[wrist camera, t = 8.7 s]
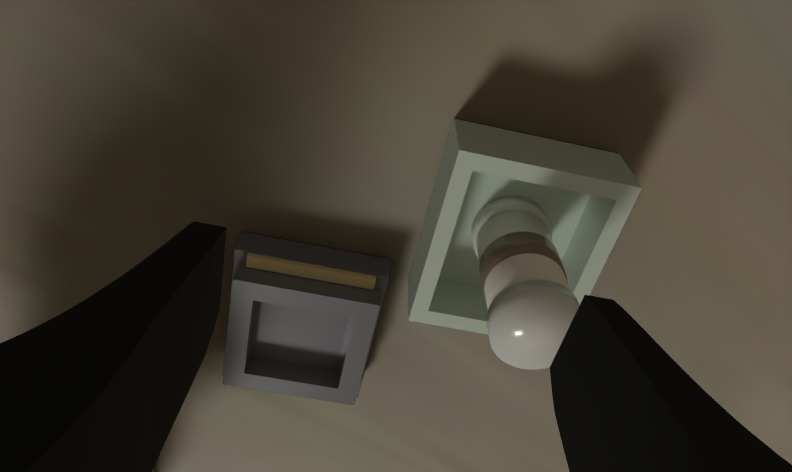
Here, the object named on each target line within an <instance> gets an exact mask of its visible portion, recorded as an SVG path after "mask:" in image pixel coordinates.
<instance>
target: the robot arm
mask: <svg viewBox="0 0 792 472" xmlns="http://www.w3.org/2000/svg"><path fill="white" fill-rule="evenodd" d="M225 238H226V227H221V226H216V225H210V224H205V223H200V222H193V223H191V224H189V225H188V226H187V227H185V228H184V229H183V230H181V231H180V232H179V233H178V234H176V235H175V236H174V237H173V238H172V239H170V240H169V241H168V242H166V243H165V244H164V245H163V246H161V247H160V248H159V249H157V250H156V251H155V252H154V253H152V254H151V255H150V256H148V257H147V258H146V259H144V260H143V261H142V262H140V263H139V264H137V265H136V266H135V267H133V268H132V269H130V270H129V271H128V272H126V273H125V274H124V275H122V276H121V277H119V278H118V279H116V280H115V281H113V282H112V283H110V284H109V285H107V286H106V287H104V288H103V289H101V290H99V291H98V292H96V293H95V294H93V295H92V296H90V297H89V298H87V299H85V300H84V301H82V302H81V303H79V304H77V305H76V306H74V307H72V308H71V309H69V310H67V311H65V312H64V313H62V314H60V315H58V316H56V317H55V318H53V319H51V320H49V321H47V322H45V323H43V324H41V325H39V326H37V327H35V328H33V329H31V330H29V331H27V332H25V333H23V334H21V335H19V336H16V337H14V338H12V339H9V340H7V341H5V342H3V343H0V472H154V466H155V464H156V461H157V459H158V457H159V454H160V452H161V449H162V447H163V445H164V443H165V441H166V439H167V436H168V434H169V432H170V430H171V428H172V426H173V424H174V421H175V419H176V417H177V415H178V413H179V411H180V408H181V406H182V404H183V402H184V400H185V398H186V396H187V393H188V391H189V389H190V387H191V385H192V382H193V380H194V378H195V376H196V374H197V372H198V369H199V367H200V365H201V363H202V361H203V358H204V356H205V354H206V351H207V348H208V345H209V341H210V338H211V335H212V332H213V329H214V326H215V322H216V319H217V316H218V313H219V309H220V297H221V286H222V274H223V262H224V250H225ZM550 374H551V385H552V395H553V402H554V410H555V415H556V419H557V424H558V428H559V432H560V436H561V440H562V444H563V448H564V451H565V455H566V459H567V463H568V467H569V471H570V472H792V465H791V464H790V463H788V462H787V461H786V460H784V459H783V458H782V457H780V456H779V455H778V454H777V453H775V452H774V451H773V450H772V449H771V448H769V447H768V446H767V445H766V444H764V443H763V442H762V441H761V440H759V439H758V438H757V437H756V436H755V435H753V434H752V433H751V432H750V431H748V430H747V429H746V428H745V427H744V426H743V425H741V424H740V423H739V422H738V421H737V420H736V419H734V418H733V417H732V416H731V415H730V414H729V413H728V412H727V411H726V410H725V409H723V408H722V407H721V406H720V405H719V404H718V403H717V402H716V401H715V400H714V399H713V398H712V397H710V396H709V395H708V394H707V393H706V392H705V391H704V390H703V389H702V388H701V387H700V386H699V385H698V384H697V383H696V382H695V381H694V380H693V379H692V378H691V377H690V376H689V375H688V374H687V373H686V372H685V371H684V370H683V369H682V368H681V367H680V366H679V365H678V364H677V363H676V362H675V361H674V360H673V359H672V358H671V357H670V356H669V355H668V354H667V353H666V352H665V351H664V350H663V349H662V348H661V347H660V346H659V345H658V344H657V343H656V342H655V341H654V340H653V339H652V337H651V336H650V335H649V334H648V333H647V332H646V331H645V330H644V329H643V328H642V327H641V326H640V325H639V324H638V323H637V322H636V321H635V320H634V319H633V318H632V317H631V316H630V315H629V314H628V313H627V312H626V311H625V310H624V309H623V308H622V307H621V306H620V305H619V304H617V303H616V302H615V301H614V300H611V299H606V298H600V297H595V296H590V295H584V297H583V299H582V301H581V303H580V306H579V308H578V310H577V312H576V314H575V316H574V318H573V320H572V322H571V324H570V326H569V328H568V330H567V332H566V335H565V337H564V339H563V341H562V343H561V345H560V347H559V349H558V351H557V353H556V355H555V357H554V359H553V361H552V363H551V366H550Z"/></svg>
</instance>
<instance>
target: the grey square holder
mask: <svg viewBox="0 0 792 472" xmlns="http://www.w3.org/2000/svg"><path fill="white" fill-rule="evenodd" d="M389 278H390V259H386V258H380V257H375V256H370V255H364V254H359V253H354V252H348V251H343V250H338V249H332V248H327V247H322V246H316V245H311V244H306V243H300V242H295V241H290V240H284V239H279V238H273V237H268V236H263V235H257V234H252V233H247V232H241V235H240V237H239V240H238V242H237V245H236V247H235V251H234V261H233V272H232V282H231V293H230V303H229V314H228V324H227V335H226V345H225V356H224V366H223V384H225V385H231V386H237V387H244V388H250V389H256V390H262V391H268V392H275V393H281V394H287V395H293V396H299V397H306V398H312V399H318V400H324V401H330V402H337V403H343V404H349V405H354V404H355V400H356V397H357V398H358V395H359V391H360V388H361V384H362V380H363V376H364V372H365V369H366V365H367V361H368V357H369V354H370V350H371V346H372V342H373V339H374V335H375V331H376V327H377V323H378V320H379V316H380V312H381V308H382V305H383V301H384V297H385V293H386V289H387V286H388V282H389Z"/></svg>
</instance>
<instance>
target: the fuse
mask: <svg viewBox="0 0 792 472" xmlns="http://www.w3.org/2000/svg"><path fill="white" fill-rule="evenodd" d="M471 234H472V240H473V246H474V251H475V253H476V255H477V257H478V259H479V272H480V278H481V284H482V289H483V295H484V298H485V300H486V303H487V309H488V312H487V327H488V333H489V339H490V344H491V347H492V349H493V351H494V353H495V354H496V355H497V356H498V357H499V358H500V359H501V360H502V361H504V362H505V363H507V364H509V365H511V366H514V367H517V368H521V369H531V370H534V369H544V368H549V367H550V366H551V363H552V361H553V359H554V357H555V355H556V353H557V351H558V349H559V347H560V345H561V343H562V341H563V339H564V337H565V335H566V332H567V330H568V328H569V326H570V324H571V322H572V320H573V318H574V316H575V314H576V312H577V310H578V308H579V306H580V305H579V303H578V300H577V298H576V297H575V295H574V294H573V293H572V292H571V291H570V288H569V285H568V283H567V276H566V273H565V270H564V267H563V265H562V262H561V259H560V256H559V254H558V251H557V249H556V247H555V246H554V244H553V242H552V232H551V228H550V225H549V223H548V220H547V217H546V215H545V213H544V211H543V209H542V208H541V207H540V206H539V205H538V204H537V203H535V202H534V201H532V200H530V199H528V198H525V197H520V196H506V197H501V198H498V199H495V200H493V201H491V202H489V203H488V204H486V205H485V206H484V207H482V208H481V209H480V211H479V212H478V213H477V214H476V216H475V218H474V220H473V223H472V228H471Z"/></svg>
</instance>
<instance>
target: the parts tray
mask: <svg viewBox="0 0 792 472" xmlns="http://www.w3.org/2000/svg"><path fill="white" fill-rule="evenodd" d="M641 189H642V187H641V186H640V184H639V183H638V181H637V180H636V178H635V177H634V175H633V174H632V172H631V171H630V169H629V167H628V166H627V164H626V163H625V161H624V160H623V158H622V157H621V155H620V154H618V153H613V152H608V151H604V150H599V149H594V148H589V147H585V146H580V145H575V144H571V143H566V142H561V141H557V140H552V139H547V138H543V137H538V136H533V135H528V134H524V133H519V132H514V131H510V130H505V129H500V128H496V127H491V126H486V125H481V124H477V123H472V122H467V121H463V120H458V119H454V121H453V124H452V128H451V131H450V135H449V138H448V142H447V145H446V149H445V152H444V156H443V159H442V163H441V166H440V170H439V173H438V177H437V180H436V184H435V187H434V191H433V194H432V198H431V201H430V205H429V208H428V212H427V215H426V219H425V222H424V226H423V229H422V233H421V236H420V240H419V243H418V247H417V250H416V254H415V257H414V261H413V264H412V268H411V271H410V275H409V278H408V320H409V321H415V322H420V323H426V324H431V325H437V326H443V327H448V328H454V329H460V330H465V331H471V332H477V333H482V334H488V335H489V333H488V327H487V312H488V309H487V303H486V300H485V298H484V295H483V289H482V284H481V278H480V272H479V259H478V257H477V255H476V253H475V251H474V246H473V240H472V234H471V228H472V223H473V220H474V218H475V216H476V214H477V213H478V212H479V211H480V209H481V208H482V207H484V206H485V205H486V204H488V203H489V202H491V201H493V200H495V199H498V198H501V197H506V196H520V197H525V198H528V199H530V200H532V201H534V202H535V203H537V204H538V205H539V206H540V207H541V208H542V209H543V211H544V213H545V215H546V217H547V220H548V223H549V225H550V228H551V232H552V242H553V244H554V246H555V247H556V249H557V251H558V254H559V256H560V259H561V262H562V265H563V267H564V270H565V273H566V276H567V283H568V285H569V288H570V291H571V292H572V293H573V294H574V295H575V297H576V298H577V300H578V303H579V305H580V303H581V301H582V299H583V297H584V295H590V293H591V291H592V289H593V287H594V285H595V283H596V281H597V279H598V277H599V275H600V273H601V271H602V269H603V267H604V265H605V263H606V261H607V258H608V256H609V254H610V252H611V250H612V248H613V246H614V244H615V242H616V240H617V238H618V236H619V234H620V232H621V230H622V228H623V226H624V224H625V222H626V220H627V218H628V216H629V214H630V211H631V209H632V207H633V205H634V203H635V201H636V199H637V197H638V195H639V193H640V191H641Z"/></svg>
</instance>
